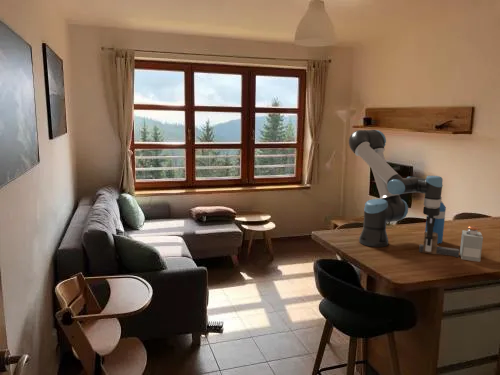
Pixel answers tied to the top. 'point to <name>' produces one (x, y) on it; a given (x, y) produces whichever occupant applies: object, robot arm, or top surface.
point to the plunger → (472, 230)
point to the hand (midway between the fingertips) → (428, 247)
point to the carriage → (434, 243)
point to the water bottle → (439, 223)
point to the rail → (443, 250)
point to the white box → (471, 246)
